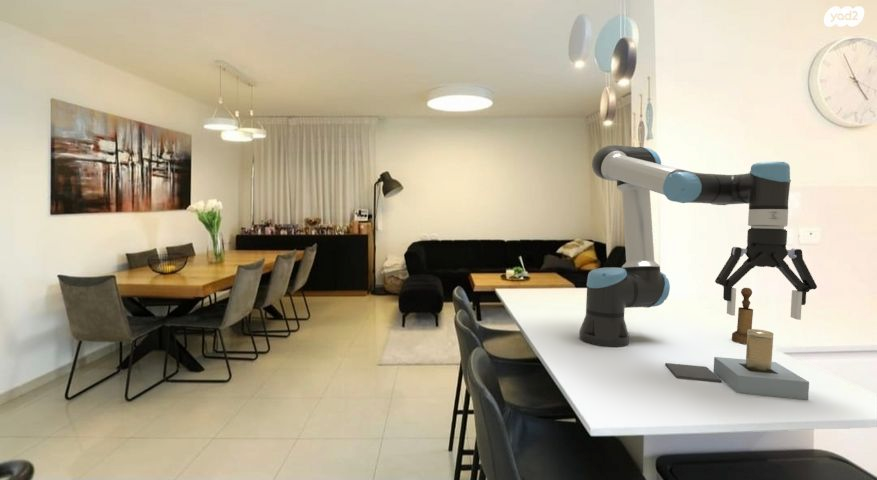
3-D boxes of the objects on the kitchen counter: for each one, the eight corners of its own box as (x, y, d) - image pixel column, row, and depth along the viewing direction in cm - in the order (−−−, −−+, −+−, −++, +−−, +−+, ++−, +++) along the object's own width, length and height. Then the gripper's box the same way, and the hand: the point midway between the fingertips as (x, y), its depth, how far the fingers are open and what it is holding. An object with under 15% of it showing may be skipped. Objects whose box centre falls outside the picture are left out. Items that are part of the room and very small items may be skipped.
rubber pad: (676, 378, 108) (676, 375, 108) (665, 365, 118) (665, 362, 118) (721, 382, 106) (721, 380, 106) (706, 368, 116) (706, 366, 116)
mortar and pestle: (759, 345, 140) (763, 290, 139) (737, 343, 141) (740, 288, 140) (749, 339, 147) (752, 286, 146) (728, 338, 148) (731, 285, 147)
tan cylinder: (750, 387, 103) (753, 333, 103) (740, 379, 108) (743, 328, 108) (774, 389, 102) (777, 335, 102) (763, 382, 107) (766, 330, 106)
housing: (737, 392, 100) (738, 375, 100) (713, 371, 114) (714, 356, 113) (808, 399, 97) (809, 382, 97) (774, 377, 110) (775, 362, 110)
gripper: (714, 226, 102) (710, 315, 103) (839, 229, 97) (834, 323, 98) (703, 226, 110) (699, 309, 110) (818, 229, 104) (813, 316, 105)
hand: (762, 316), depth 104 cm, fingers open, 13 cm apart
